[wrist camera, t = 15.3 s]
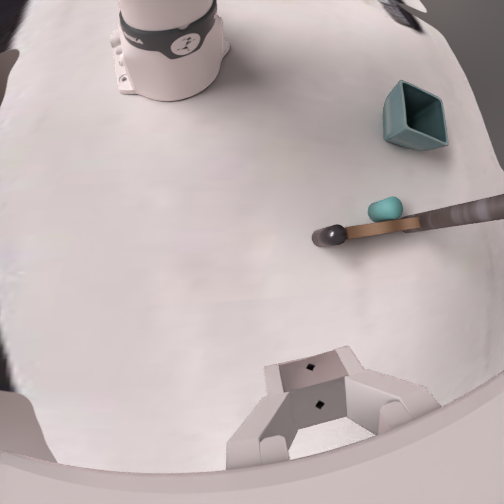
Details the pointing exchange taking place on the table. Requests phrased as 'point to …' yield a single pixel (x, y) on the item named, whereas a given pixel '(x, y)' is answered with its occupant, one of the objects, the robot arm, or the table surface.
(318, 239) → the hinge post
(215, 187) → the table surface
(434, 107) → the flower pot
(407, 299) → the table surface
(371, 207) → the post
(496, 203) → the brown board with post
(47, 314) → the table surface
